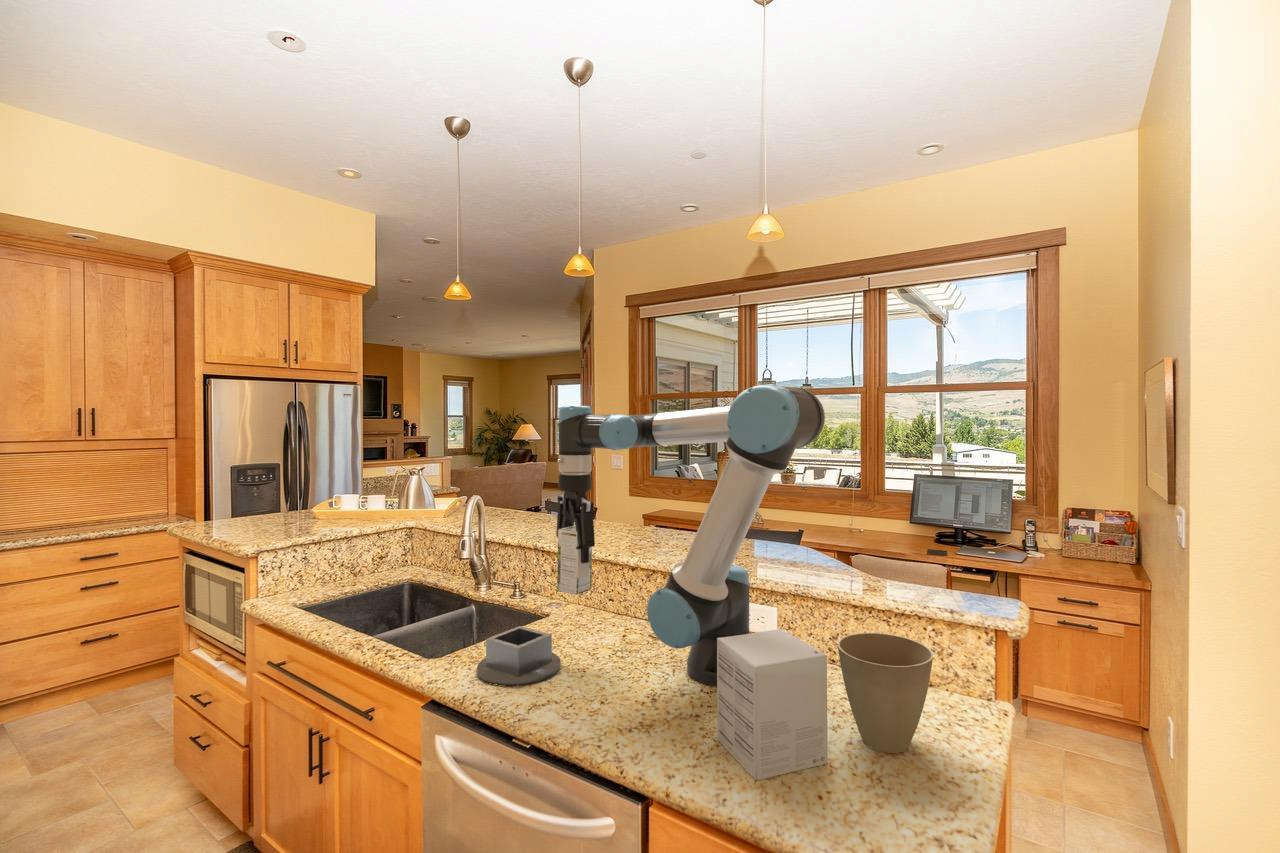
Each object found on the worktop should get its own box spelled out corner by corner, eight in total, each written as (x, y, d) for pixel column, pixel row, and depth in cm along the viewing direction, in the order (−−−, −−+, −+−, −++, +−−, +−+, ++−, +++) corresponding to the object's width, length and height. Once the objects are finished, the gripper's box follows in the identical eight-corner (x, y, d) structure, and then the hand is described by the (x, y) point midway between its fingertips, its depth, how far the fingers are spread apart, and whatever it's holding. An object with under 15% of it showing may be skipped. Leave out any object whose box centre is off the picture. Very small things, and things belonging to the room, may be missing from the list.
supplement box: (782, 725, 108) (782, 627, 108) (829, 764, 96) (829, 654, 96) (715, 739, 104) (714, 636, 103) (755, 782, 91) (755, 666, 91)
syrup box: (572, 585, 144) (572, 524, 143) (592, 589, 140) (592, 527, 140) (556, 591, 139) (556, 528, 138) (577, 595, 136) (577, 530, 135)
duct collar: (577, 664, 136) (577, 632, 136) (518, 694, 121) (517, 658, 121) (520, 647, 146) (520, 618, 146) (459, 672, 131) (459, 640, 131)
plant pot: (840, 714, 112) (840, 628, 112) (929, 729, 107) (929, 638, 106) (835, 756, 98) (834, 657, 98) (937, 775, 93) (937, 671, 93)
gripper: (541, 470, 145) (541, 565, 146) (580, 478, 129) (580, 585, 129) (570, 469, 150) (569, 561, 150) (611, 476, 133) (610, 580, 133)
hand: (574, 572), depth 139 cm, fingers closed on syrup box, 7 cm apart
